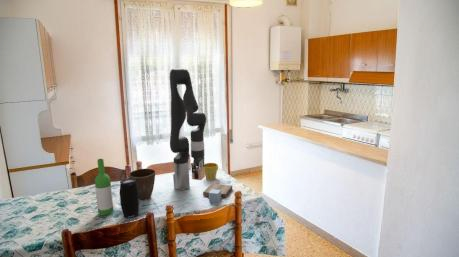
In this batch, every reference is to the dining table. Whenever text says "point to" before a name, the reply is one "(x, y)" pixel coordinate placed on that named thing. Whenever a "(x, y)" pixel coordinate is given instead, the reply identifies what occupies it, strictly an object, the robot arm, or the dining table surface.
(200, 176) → the terracotta block
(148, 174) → the plant pot
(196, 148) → the robot arm
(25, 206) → the dining table surface
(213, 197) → the slate blue block
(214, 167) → the plant pot
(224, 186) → the walnut board
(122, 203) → the portable speaker
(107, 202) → the wine bottle
